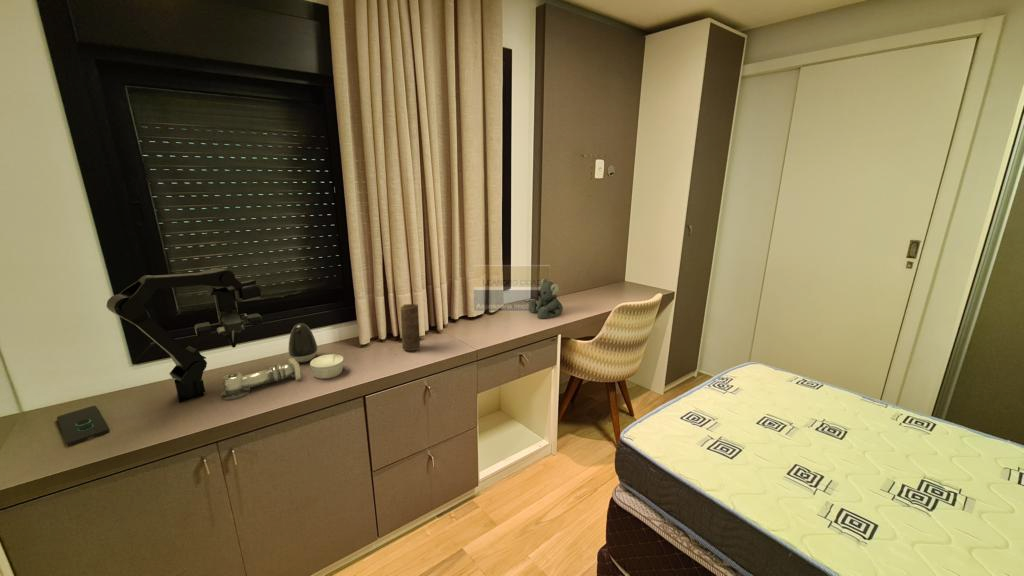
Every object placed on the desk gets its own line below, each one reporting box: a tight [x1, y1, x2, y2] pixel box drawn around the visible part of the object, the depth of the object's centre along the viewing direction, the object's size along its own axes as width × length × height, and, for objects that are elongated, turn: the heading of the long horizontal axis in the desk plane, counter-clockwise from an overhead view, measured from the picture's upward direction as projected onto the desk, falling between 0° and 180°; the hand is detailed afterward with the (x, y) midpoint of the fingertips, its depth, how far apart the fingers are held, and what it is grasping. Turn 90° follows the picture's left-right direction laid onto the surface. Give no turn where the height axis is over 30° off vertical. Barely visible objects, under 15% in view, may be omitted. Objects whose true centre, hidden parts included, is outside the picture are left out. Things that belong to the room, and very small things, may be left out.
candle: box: [400, 303, 421, 351], centre depth 165 cm, size 8×7×20 cm
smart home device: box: [56, 405, 111, 447], centre depth 111 cm, size 8×2×20 cm
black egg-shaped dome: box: [287, 323, 318, 363], centre depth 153 cm, size 10×10×15 cm
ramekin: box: [309, 353, 345, 380], centre depth 144 cm, size 11×11×5 cm
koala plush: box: [528, 277, 564, 320], centre depth 216 cm, size 17×18×20 cm
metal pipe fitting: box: [220, 357, 302, 401], centre depth 134 cm, size 23×8×6 cm, turn 134°
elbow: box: [222, 365, 280, 395], centre depth 132 cm, size 15×5×6 cm, turn 135°
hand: (233, 347), depth 137 cm, fingers closed
